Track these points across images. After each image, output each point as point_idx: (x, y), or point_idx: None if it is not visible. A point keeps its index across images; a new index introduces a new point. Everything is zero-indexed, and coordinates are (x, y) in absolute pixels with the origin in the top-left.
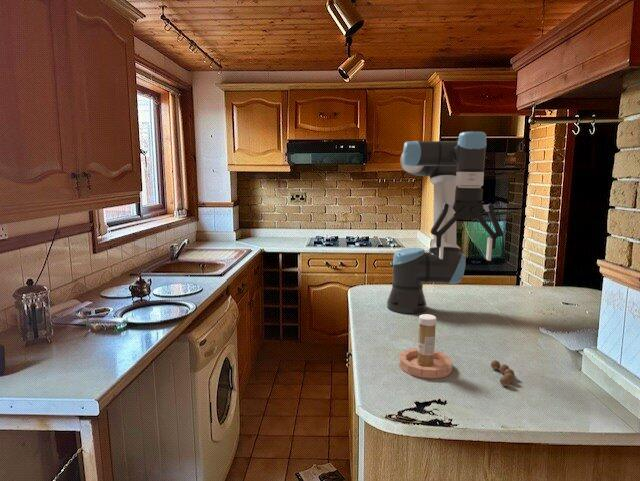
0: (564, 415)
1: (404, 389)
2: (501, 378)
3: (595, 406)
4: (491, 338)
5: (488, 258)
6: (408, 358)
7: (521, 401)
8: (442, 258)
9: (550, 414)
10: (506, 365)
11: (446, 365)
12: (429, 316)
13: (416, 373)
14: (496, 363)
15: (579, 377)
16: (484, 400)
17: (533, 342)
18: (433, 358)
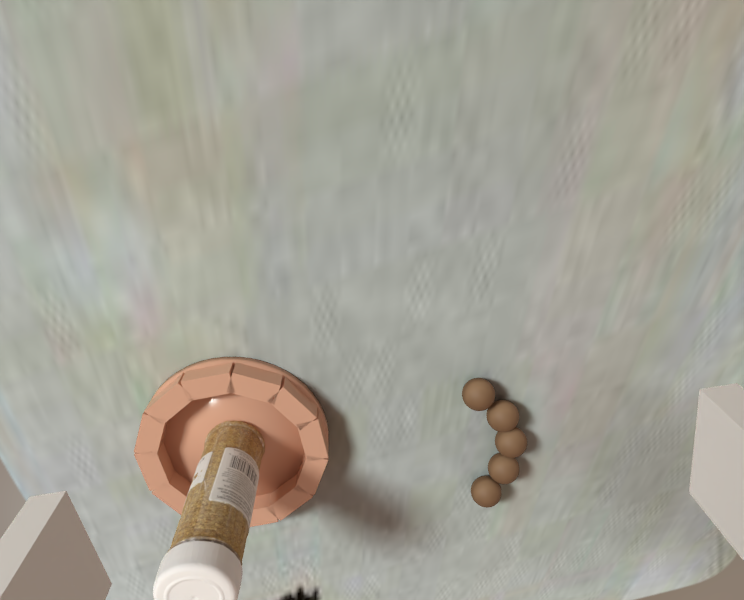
0: (592, 567)
1: None
2: (476, 500)
3: (690, 511)
4: (522, 50)
5: (708, 515)
6: (169, 422)
7: (508, 541)
8: (103, 592)
9: (560, 573)
10: (512, 425)
11: (308, 483)
12: (202, 595)
13: None
14: (481, 410)
15: (741, 360)
16: (413, 563)
17: (723, 42)
18: (260, 463)
